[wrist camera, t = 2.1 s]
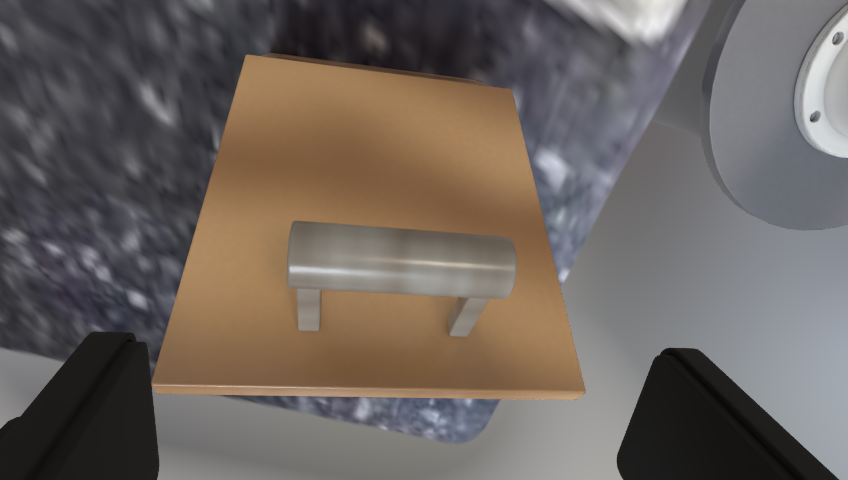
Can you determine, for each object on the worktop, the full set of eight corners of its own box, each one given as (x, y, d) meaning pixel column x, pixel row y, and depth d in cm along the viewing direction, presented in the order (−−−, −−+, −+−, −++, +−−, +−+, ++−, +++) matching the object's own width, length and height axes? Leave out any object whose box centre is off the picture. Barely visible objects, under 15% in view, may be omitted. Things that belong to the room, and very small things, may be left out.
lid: (576, 401, 17) (670, 329, 13) (156, 394, 15) (90, 304, 10) (507, 100, 27) (546, 1, 22) (247, 67, 24) (233, -52, 20)
